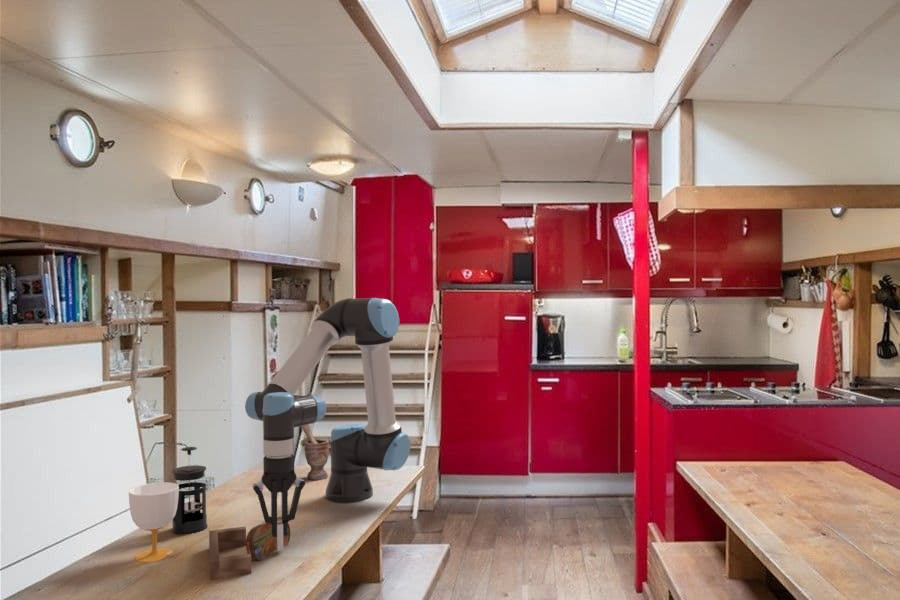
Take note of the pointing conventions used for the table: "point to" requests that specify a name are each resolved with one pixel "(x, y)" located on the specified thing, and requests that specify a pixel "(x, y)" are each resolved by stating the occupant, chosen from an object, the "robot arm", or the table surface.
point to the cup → (153, 513)
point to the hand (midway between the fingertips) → (279, 548)
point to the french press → (189, 513)
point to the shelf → (232, 563)
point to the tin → (263, 540)
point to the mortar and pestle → (316, 455)
